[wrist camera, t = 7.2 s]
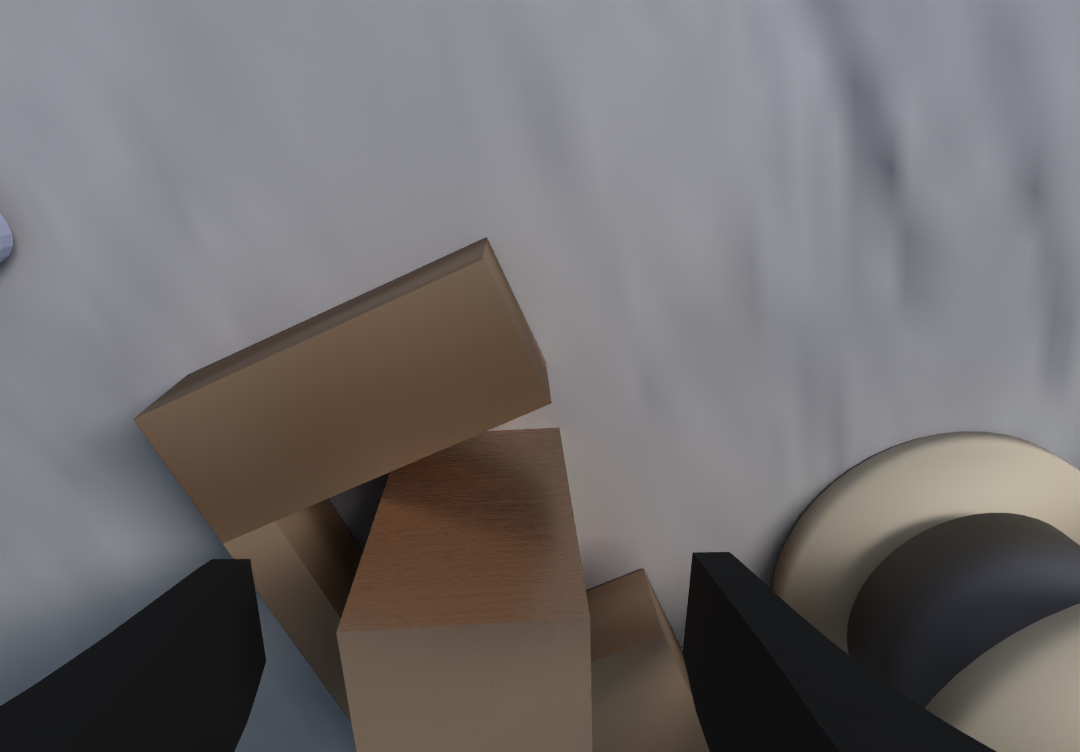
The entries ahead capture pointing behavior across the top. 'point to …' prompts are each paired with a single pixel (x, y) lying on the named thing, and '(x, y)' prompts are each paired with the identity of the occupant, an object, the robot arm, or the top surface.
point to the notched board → (392, 467)
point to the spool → (953, 582)
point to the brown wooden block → (472, 606)
